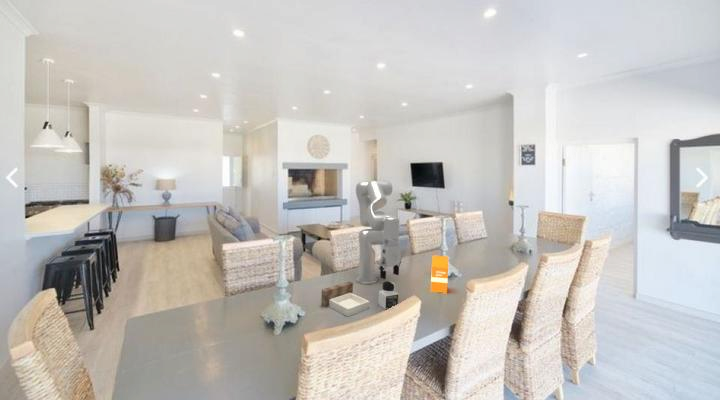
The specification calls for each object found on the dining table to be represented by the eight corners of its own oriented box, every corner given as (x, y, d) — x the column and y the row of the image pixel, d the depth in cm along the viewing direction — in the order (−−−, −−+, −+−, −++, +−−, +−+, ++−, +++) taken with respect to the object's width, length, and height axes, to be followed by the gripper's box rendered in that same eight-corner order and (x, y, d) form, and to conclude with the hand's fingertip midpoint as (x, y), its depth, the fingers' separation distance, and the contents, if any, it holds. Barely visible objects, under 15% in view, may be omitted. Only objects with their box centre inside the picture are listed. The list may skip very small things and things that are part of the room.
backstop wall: (348, 296, 171) (349, 281, 170) (352, 297, 169) (352, 283, 168) (321, 305, 159) (321, 289, 158) (325, 307, 157) (325, 291, 156)
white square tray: (350, 299, 167) (350, 292, 167) (369, 308, 157) (369, 301, 157) (328, 306, 158) (328, 299, 157) (347, 316, 148) (348, 309, 147)
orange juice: (446, 293, 180) (449, 258, 178) (430, 291, 181) (432, 257, 179) (446, 288, 187) (448, 254, 185) (430, 286, 189) (432, 253, 187)
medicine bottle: (385, 310, 156) (386, 286, 155) (378, 304, 162) (378, 281, 161) (397, 307, 159) (398, 284, 158) (390, 302, 166) (391, 279, 164)
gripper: (384, 245, 149) (383, 282, 150) (407, 241, 161) (406, 274, 162) (372, 243, 154) (371, 278, 155) (396, 238, 166) (395, 271, 167)
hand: (389, 276), depth 159 cm, fingers open, 9 cm apart
